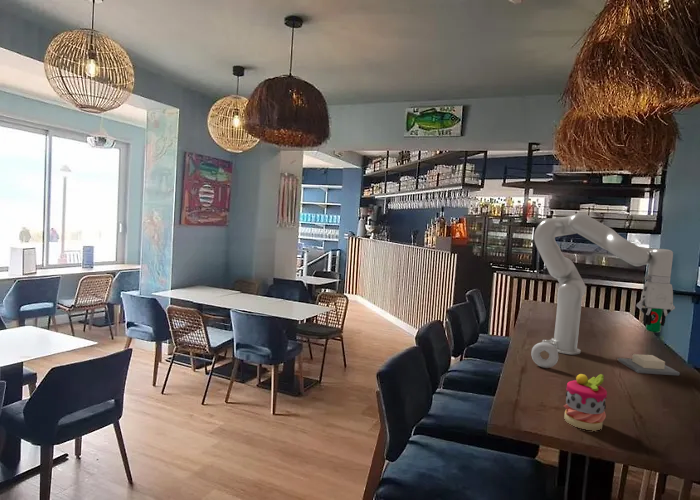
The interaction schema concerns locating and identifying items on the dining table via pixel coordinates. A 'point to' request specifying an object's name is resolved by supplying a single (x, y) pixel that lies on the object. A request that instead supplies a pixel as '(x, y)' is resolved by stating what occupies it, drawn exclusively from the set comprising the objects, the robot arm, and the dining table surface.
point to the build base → (647, 370)
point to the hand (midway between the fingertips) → (653, 324)
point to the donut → (548, 348)
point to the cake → (585, 402)
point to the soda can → (655, 320)
